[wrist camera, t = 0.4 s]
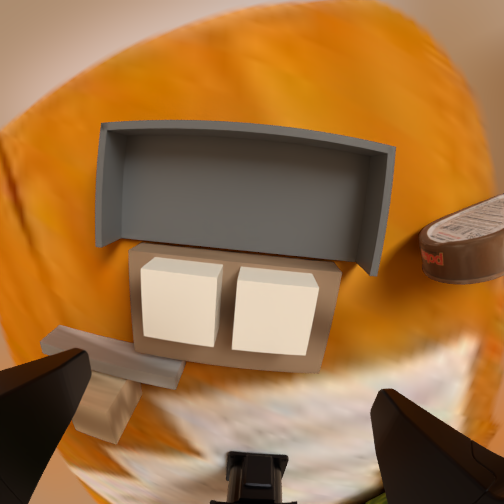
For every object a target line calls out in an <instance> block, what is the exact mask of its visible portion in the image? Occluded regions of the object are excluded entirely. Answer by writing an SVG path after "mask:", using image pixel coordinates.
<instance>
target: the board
mask: <svg viewBox="0 0 504 504" xmlns="http://www.w3.org/2000/svg"><path fill="white" fill-rule="evenodd" d="M154 257H160V258H168V259H177V260H186V261H195V262H204V263H213V264H222V265H223V275H222V290H221V305H220V322H219V330H218V333H217V337H216V341H215V344H214V347H209V346H201V345H194V344H188V343H181V342H175V341H169V340H163V339H158V338H152V337H147V336H144V331H143V316H142V297H141V268H142V267H143V266H144V265H146V264H147V263H148V262H149V261H151V260H152V259H153V258H154ZM241 267H251V268H261V269H270V270H280V271H291V272H301V273H311V274H313V276H314V278H315V280H316V282H317V284H318V286H319V292H318V297H317V302H316V308H315V313H314V318H313V323H312V328H311V332H310V337H309V342H308V347H307V351H306V356H304V355H287V354H274V353H262V352H252V351H242V350H233V349H232V339H233V327H234V315H235V303H236V291H237V280H238V276H239V272H240V268H241ZM341 276H342V272H341V271H340V269H339V268H338V267H337V266H336V264H335V263H334V262H327V261H318V260H308V259H298V258H288V257H278V256H269V255H259V254H249V253H240V252H230V251H220V250H211V249H201V248H191V247H182V246H172V245H163V244H153V243H143V242H142V243H140V244H138V245H137V246H135V247H133V248H132V249H130V250H129V282H130V301H131V316H132V328H133V338H134V347H135V351H136V352H141V353H146V354H151V355H156V356H161V357H166V358H172V359H178V360H184V361H190V362H197V363H203V364H211V365H218V366H226V367H235V368H244V369H254V370H266V371H279V372H295V373H319V372H320V368H321V364H322V360H323V356H324V352H325V349H326V345H327V340H328V336H329V332H330V328H331V324H332V319H333V315H334V310H335V306H336V301H337V296H338V291H339V286H340V281H341Z"/></svg>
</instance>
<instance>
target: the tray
mask: <svg viewBox="0 0 504 504" xmlns="http://www.w3.org/2000/svg"><path fill="white" fill-rule="evenodd" d="M395 151H396V147H394V146H390V145H386V144H381V143H377V142H372V141H368V140H363V139H358V138H353V137H348V136H342V135H337V134H331V133H325V132H319V131H312V130H306V129H298V128H291V127H282V126H273V125H264V124H253V123H240V122H224V121H200V120H146V121H123V122H108V123H101V130H100V138H99V149H98V160H97V175H96V200H95V239H96V247H104V246H106V245H108V244H110V243H112V242H114V241H116V240H118V239H120V238H127V239H137V240H146V241H156V242H166V243H176V244H185V245H195V246H205V247H215V248H224V249H234V250H244V251H253V252H263V253H273V254H283V255H292V256H302V257H312V258H321V259H331V260H341V261H350V262H356V263H357V264H358V265H359V266H360V267H361V268H363V269H364V270H365V271H366V272H367V273H368V274H369V275H370V276H377V274H378V269H379V264H380V259H381V254H382V249H383V243H384V238H385V232H386V226H387V219H388V213H389V206H390V198H391V191H392V182H393V173H394V163H395Z"/></svg>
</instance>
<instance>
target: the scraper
mask: <svg viewBox="0 0 504 504" xmlns="http://www.w3.org/2000/svg"><path fill="white" fill-rule="evenodd" d="M40 344H41V348H42V352H43V353H45V354H47V355H54V354H57V353H60V352H63V351H66V350H69V349H72V348H80V349H83V350H86V351H87V352H88V355H89V360H90V365H91V370H92V375H91V379H90V381H89V383H88V386H87V388H86V390H85V392H84V395H83V397H82V399H81V401H80V404H79V406H78V408H77V411H76V413H75V415H74V416H73V418H72V422H73V424H74V426H75V429H76V430H77V431H80V432H82V433H85V434H88V435H90V436H93V437H96V438H99V439H101V440H104V441H107V442H110V443H113V444H116V445H117V443H118V441H119V439H120V437H121V435H122V433H123V431H124V429H125V427H126V425H127V423H128V421H129V419H130V417H131V415H132V413H133V411H134V409H135V407H136V405H137V403H138V401H139V399H140V397H141V396H142V389H141V383H145V384H150V385H154V386H159V387H164V388H169V389H174V390H176V388H177V385H178V383H179V380H180V377H181V375H182V372H183V370H184V367H185V365H186V361H184V360H178V359H172V358H166V357H161V356H156V355H151V354H146V353H141V352H136V351H135V347H134V343H130V342H125V341H121V340H116V339H112V338H108V337H104V336H100V335H96V334H92V333H88V332H84V331H80V330H76V329H73V328H69V327H66V326H62V325H59V326H58V327H57V328H55V329H54V330H53V331H52V332H51V333H49V334H48V335H47V336H46V337H45V338H44V339H42V340H41V341H40Z"/></svg>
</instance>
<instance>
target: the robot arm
mask: <svg viewBox="0 0 504 504" xmlns="http://www.w3.org/2000/svg"><path fill="white" fill-rule="evenodd" d="M91 375H92V370H91V365H90V360H89V355H88V352H87V351H86V350H83V349H80V348H72V349H69V350H66V351H63V352H60V353H57V354H54V355H50V356H47V357H44V358H41V359H38V360H35V361H31V362H28V363H25V364H22V365H18V366H15V367H12V368H8V369H5V370H2V371H0V504H28V503H29V501H30V498H31V496H32V494H33V492H34V490H35V488H36V486H37V484H38V482H39V480H40V478H41V476H42V474H43V472H44V470H45V468H46V466H47V464H48V462H49V460H50V458H51V456H52V455H53V453H54V451H55V449H56V447H57V445H58V443H59V442H60V440H61V438H62V436H63V434H64V433H65V431H66V429H67V427H68V425H69V424H70V422H71V420H72V418H73V416H74V415H75V413H76V411H77V408H78V406H79V404H80V401H81V399H82V397H83V395H84V392H85V390H86V388H87V386H88V383H89V381H90V379H91ZM370 415H371V422H372V429H373V436H374V444H375V451H376V456H377V460H378V464H379V468H380V472H381V477H382V481H383V485H384V489H385V494H386V498H387V503H388V504H504V458H503V457H501V456H499V455H497V454H495V453H493V452H491V451H490V450H488V449H486V448H484V447H483V446H481V445H479V444H478V443H476V442H475V441H473V440H471V439H470V438H468V437H466V436H465V435H463V434H462V433H460V432H458V431H457V430H455V429H454V428H452V427H451V426H449V425H447V424H446V423H444V422H443V421H441V420H440V419H438V418H437V417H435V416H433V415H432V414H430V413H429V412H427V411H426V410H424V409H423V408H421V407H420V406H418V405H417V404H415V403H414V402H412V401H411V400H409V399H408V398H406V397H405V396H403V395H402V394H400V393H399V392H397V391H396V390H394V389H381V390H380V391H379V392H378V394H377V397H376V399H375V401H374V403H373V406H372V408H371V412H370ZM287 463H288V456H287V455H268V454H252V453H241V452H229V453H228V462H227V474H226V480H227V481H229V486H228V494H227V502H218V501H215V500H211V501H210V504H297V501H295V502H291V503H282V483H281V480H282V477H283V474H284V471H285V469H286V466H287Z"/></svg>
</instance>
